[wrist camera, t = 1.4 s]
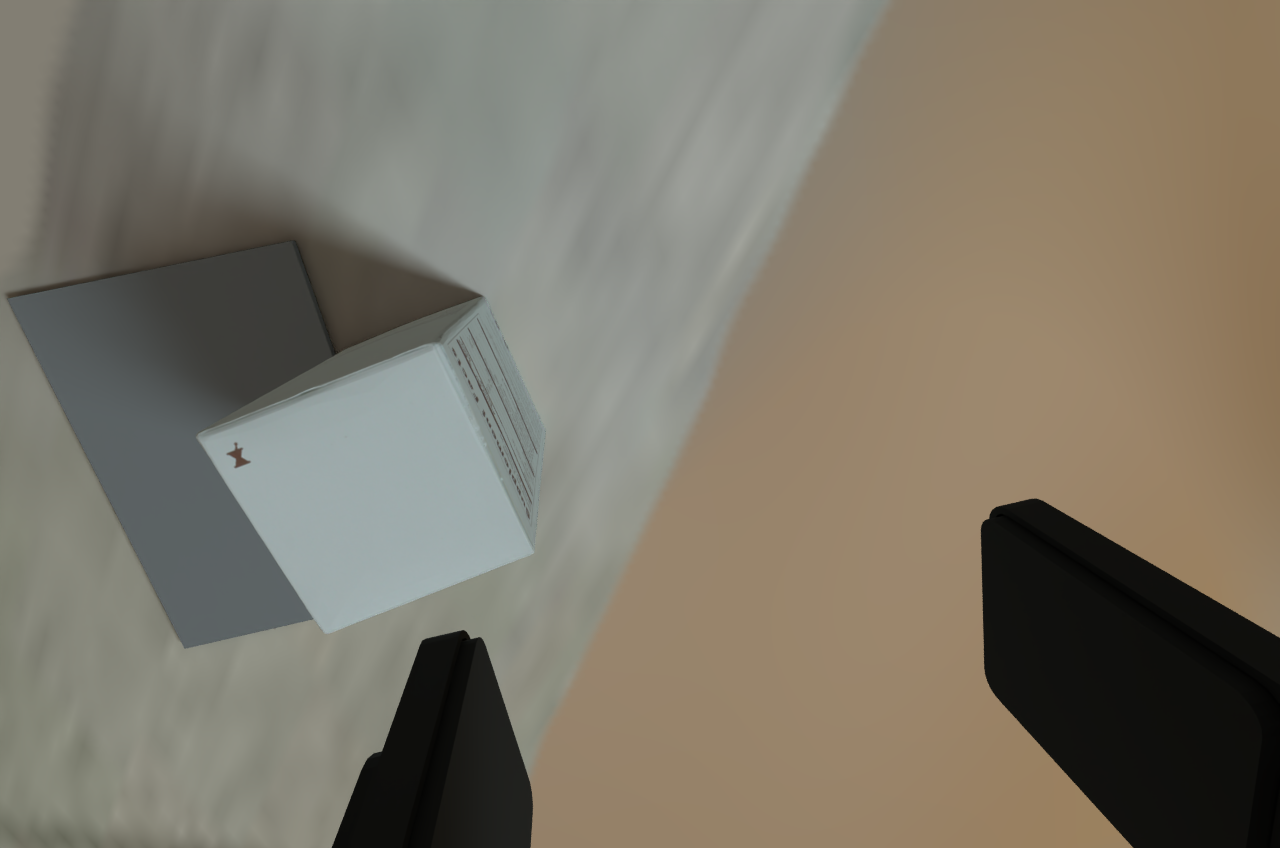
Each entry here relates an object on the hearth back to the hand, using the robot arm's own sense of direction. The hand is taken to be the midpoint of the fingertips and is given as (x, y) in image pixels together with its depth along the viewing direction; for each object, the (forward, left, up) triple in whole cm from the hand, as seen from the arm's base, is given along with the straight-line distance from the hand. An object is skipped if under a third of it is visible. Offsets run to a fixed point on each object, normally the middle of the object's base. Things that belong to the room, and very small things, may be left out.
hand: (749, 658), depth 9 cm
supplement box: (+8, 0, -23) cm, 25 cm away
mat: (+19, +1, -23) cm, 30 cm away
